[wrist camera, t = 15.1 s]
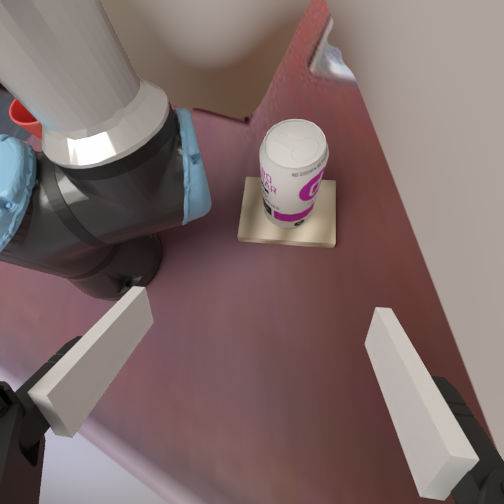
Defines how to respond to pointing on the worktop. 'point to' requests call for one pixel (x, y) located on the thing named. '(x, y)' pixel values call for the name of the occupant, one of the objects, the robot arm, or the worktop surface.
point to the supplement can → (292, 170)
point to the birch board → (308, 234)
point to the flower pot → (25, 119)
